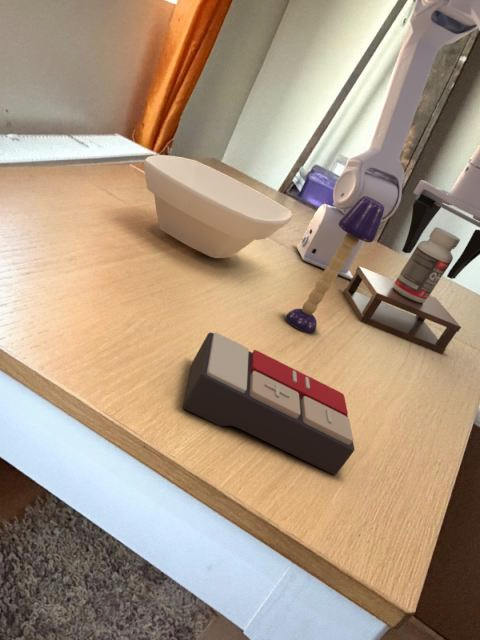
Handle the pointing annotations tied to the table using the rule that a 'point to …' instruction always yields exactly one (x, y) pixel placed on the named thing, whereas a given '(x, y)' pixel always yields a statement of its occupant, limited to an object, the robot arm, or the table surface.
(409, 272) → the pill bottle
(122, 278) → the table surface
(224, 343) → the calculator
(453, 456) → the table surface
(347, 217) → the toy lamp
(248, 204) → the bowl
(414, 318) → the rack
